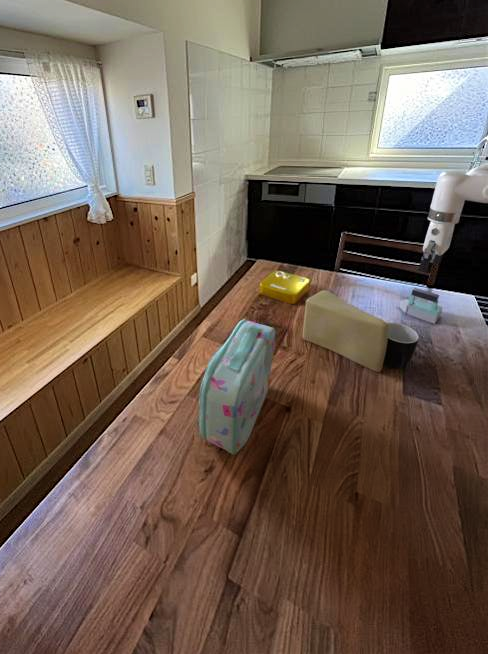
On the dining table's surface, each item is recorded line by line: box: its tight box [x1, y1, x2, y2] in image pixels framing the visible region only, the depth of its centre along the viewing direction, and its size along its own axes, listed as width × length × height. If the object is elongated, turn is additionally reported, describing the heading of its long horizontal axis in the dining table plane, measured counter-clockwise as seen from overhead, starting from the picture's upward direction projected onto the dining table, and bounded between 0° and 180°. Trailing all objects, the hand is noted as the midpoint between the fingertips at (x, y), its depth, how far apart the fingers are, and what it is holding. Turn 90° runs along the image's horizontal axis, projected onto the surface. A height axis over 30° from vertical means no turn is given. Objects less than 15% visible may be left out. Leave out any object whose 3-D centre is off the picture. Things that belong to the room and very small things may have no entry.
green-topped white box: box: [399, 287, 443, 324], centre depth 112 cm, size 11×6×8 cm, turn 42°
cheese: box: [302, 289, 389, 373], centre depth 96 cm, size 22×10×15 cm, turn 35°
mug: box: [383, 322, 420, 371], centre depth 90 cm, size 12×9×10 cm
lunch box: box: [198, 318, 276, 455], centre depth 78 cm, size 27×10×21 cm, turn 152°
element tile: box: [259, 270, 310, 305], centre depth 130 cm, size 15×15×5 cm
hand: (429, 267), depth 106 cm, fingers open, 9 cm apart
